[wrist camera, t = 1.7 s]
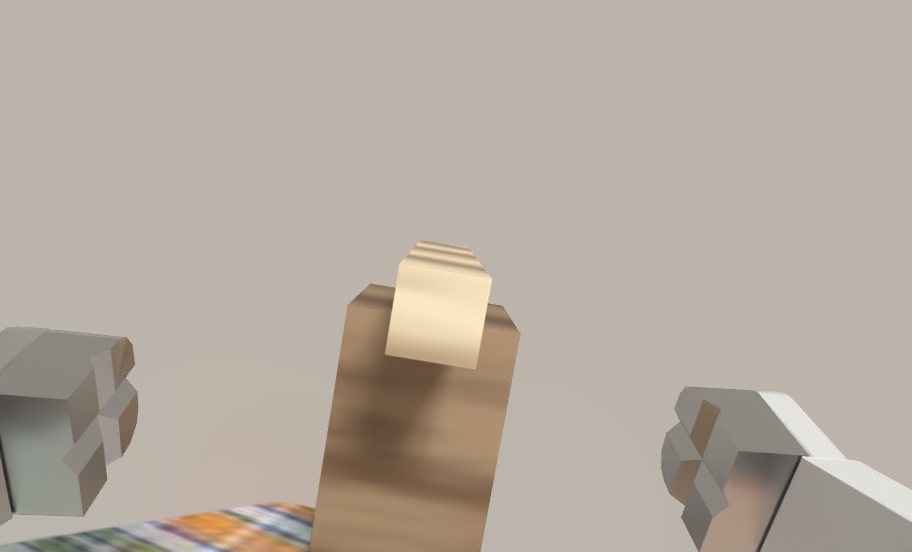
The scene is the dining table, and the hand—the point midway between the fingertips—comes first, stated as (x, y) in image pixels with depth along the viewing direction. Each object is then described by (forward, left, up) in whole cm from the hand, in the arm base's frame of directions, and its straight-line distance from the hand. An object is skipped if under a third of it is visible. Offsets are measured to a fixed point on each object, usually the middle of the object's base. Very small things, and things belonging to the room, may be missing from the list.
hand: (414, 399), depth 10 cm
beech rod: (-10, +18, -2) cm, 21 cm away
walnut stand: (-12, +21, -28) cm, 37 cm away
